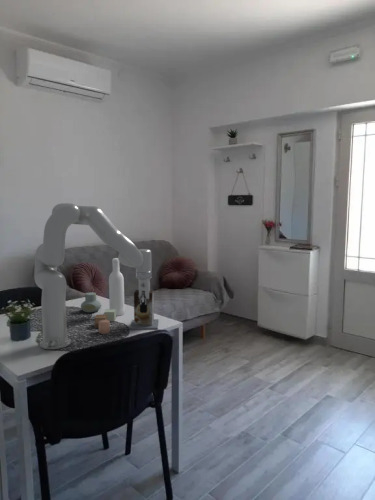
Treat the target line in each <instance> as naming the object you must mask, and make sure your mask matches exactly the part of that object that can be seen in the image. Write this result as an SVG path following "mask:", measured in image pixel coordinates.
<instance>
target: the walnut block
mask: <svg viewBox="0 0 375 500" xmlns="http://www.w3.org/2000/svg"><path fill="white" fill-rule="evenodd" d="M101 320H107V315H104V314H96V315H95V317H94V328H95V329H97V328H98V329H99V321H101Z"/></svg>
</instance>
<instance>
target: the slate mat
mask: <svg viewBox="0 0 375 500" xmlns="http://www.w3.org/2000/svg"><path fill="white" fill-rule="evenodd" d="M129 330H132V331H133V330H134V331H135V330H159V319H155V318H154V322H153V325H152V326H149V325H134V319H132V321H131V324H130V326H129Z"/></svg>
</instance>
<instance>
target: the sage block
mask: <svg viewBox="0 0 375 500" xmlns="http://www.w3.org/2000/svg"><path fill="white" fill-rule="evenodd" d="M103 315H107V320H109V321H115V322H116V319H117V316H116V309H110V308H108V309H105V310H104V313H103Z"/></svg>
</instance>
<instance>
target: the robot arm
mask: <svg viewBox="0 0 375 500" xmlns="http://www.w3.org/2000/svg"><path fill="white" fill-rule="evenodd" d="M71 225H79V226H80V225H81V226H82V225H84V226H89V227H90V228H91V230H93V232H94V233H95V234H96V235H97V237H98V238H99V239H100V240H101V242H102V243H104V244H106V245H107V246H108V247H110V248H112V249H114V250H115V251H116V252H118V256H117V258H118V260H119V264H121V265H123V266H127V267H130V268H135V279H137V280H138V290H139V299H140V300H141V301H140V313H147V304H146V300H147V299H148V300H149V293H150V290H151V282H150V281H151V279H152V278H153V277H152V274H153V273H152V270H153V269H152V262H153V261H152V250H151V249H148V248H140V249H138V247H137V246H136V244H135V243H133V242H132V241H131V240H130V239H129V238H128V237H127V236H126V235H125V234H124V233H123V232H121V231H120V230H119V229H118V227H116V225H115V224H114V223H113V222H112V221H111V219H110V218H109V217H108V216H107V215H106V214H105V213H104V211H103V210H102V209H101V208H100V207H98V206H91V205H87V206H86V205H78V204H77V205H76V204H74V203H69V202H67V203H66V202H65V203H63V202H62V203H58V204H56V205H54V207H52V209H51V215H50V216H49V217H48V219H47V220H46V222H45V225H44V229H43V238H42V239H43V240H42V243H40V244H39V246H37V248H36V250H35V253H34V269H33V270H34V273H33V274H34V275H33V276H34V283H35V284H36V286H37V287H38V288H40V289H41V300H40V301H41V302H40V303H41V306H40V307H41V321H42V340H41V341H40V342H39V347H40V348H41V349H43V350H58V349H59V350H60V349H63V348H66V347H68V346H70V345H71V343H72V339H71V338H70V337H68V330H67V328H68V327H67V326H68V325H67V306H66V305H67V304H66V303H67V301H66V292H67V280H66V277H65V275H64V274H63V273H61V272H60V271H58V267H60V266H61V265H62V264H63V263H64V261H65V258H66V257H65V255H66V253H65V252H66V250H65V249H66V234H67V230H68V228H69V227H70V226H71ZM145 296H146V298H147V299H146V298H144V297H145ZM140 297H141V298H140Z"/></svg>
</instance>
